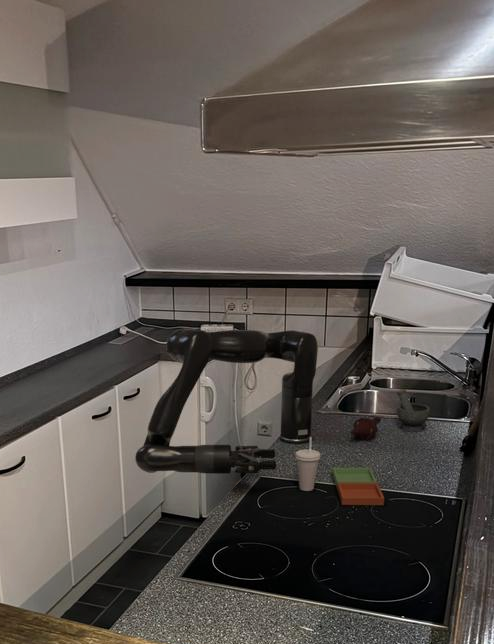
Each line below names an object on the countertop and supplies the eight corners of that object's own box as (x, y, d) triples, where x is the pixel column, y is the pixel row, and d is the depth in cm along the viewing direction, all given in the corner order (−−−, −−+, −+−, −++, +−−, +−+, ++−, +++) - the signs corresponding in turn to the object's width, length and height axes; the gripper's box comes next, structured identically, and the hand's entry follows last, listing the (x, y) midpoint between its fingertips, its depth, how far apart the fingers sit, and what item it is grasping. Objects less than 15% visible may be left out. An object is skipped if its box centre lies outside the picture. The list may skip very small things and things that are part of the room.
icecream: (365, 427, 225) (391, 420, 235) (344, 416, 229) (371, 410, 239) (357, 448, 228) (383, 440, 238) (337, 437, 233) (364, 429, 243)
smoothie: (318, 493, 196) (321, 441, 191) (293, 492, 197) (295, 440, 192) (319, 484, 201) (321, 433, 196) (294, 483, 203) (296, 433, 198)
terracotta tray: (336, 489, 198) (337, 482, 197) (377, 489, 197) (377, 482, 196) (341, 504, 188) (342, 497, 188) (383, 505, 188) (384, 498, 187)
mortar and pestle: (434, 428, 242) (437, 392, 238) (416, 435, 237) (420, 397, 233) (403, 421, 251) (406, 385, 246) (386, 427, 245) (389, 390, 241)
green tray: (332, 474, 208) (332, 467, 207) (370, 474, 207) (370, 467, 206) (336, 488, 199) (336, 481, 198) (376, 488, 198) (377, 481, 197)
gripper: (211, 454, 190) (277, 454, 189) (213, 436, 204) (274, 436, 202) (211, 482, 193) (276, 482, 192) (213, 463, 206) (274, 463, 205)
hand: (275, 459), depth 197 cm, fingers open, 8 cm apart
